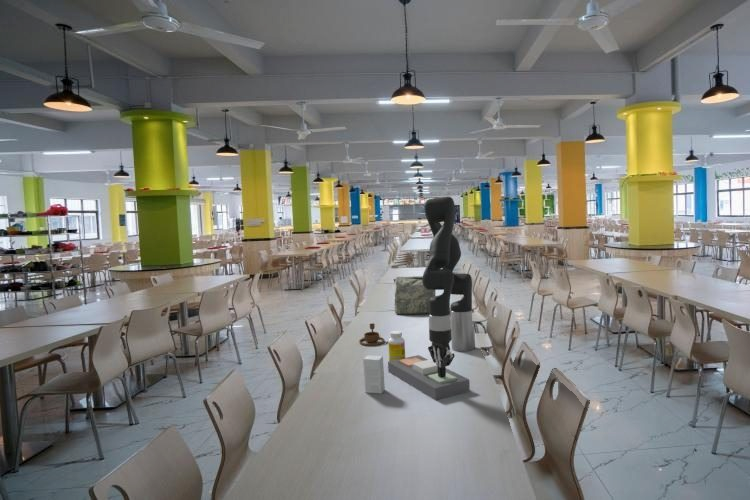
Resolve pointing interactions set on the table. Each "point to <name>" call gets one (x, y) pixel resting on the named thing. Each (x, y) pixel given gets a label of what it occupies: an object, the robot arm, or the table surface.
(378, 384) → the skincare box
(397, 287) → the lunch bag
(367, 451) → the table surface
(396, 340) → the supplement bottle
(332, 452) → the table surface
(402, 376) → the keypad
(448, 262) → the robot arm
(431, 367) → the grey key
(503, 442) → the table surface
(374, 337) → the place setting
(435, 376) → the sage key
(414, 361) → the terracotta key
